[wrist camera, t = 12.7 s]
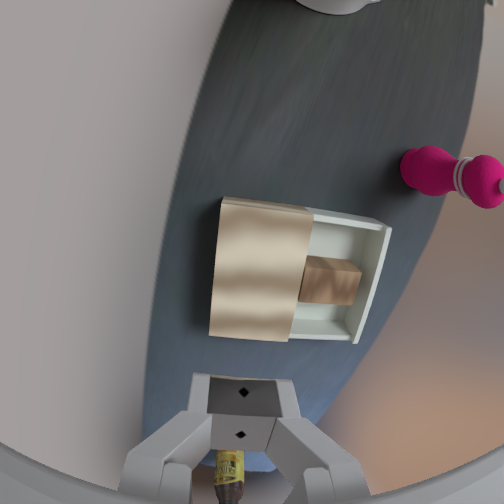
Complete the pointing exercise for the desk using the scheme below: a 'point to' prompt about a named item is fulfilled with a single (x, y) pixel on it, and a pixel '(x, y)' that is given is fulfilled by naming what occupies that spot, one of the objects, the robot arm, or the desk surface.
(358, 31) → the desk surface
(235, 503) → the sauce bottle
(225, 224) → the beige box sleeve
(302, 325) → the tray
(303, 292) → the walnut block
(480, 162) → the pepper mill
